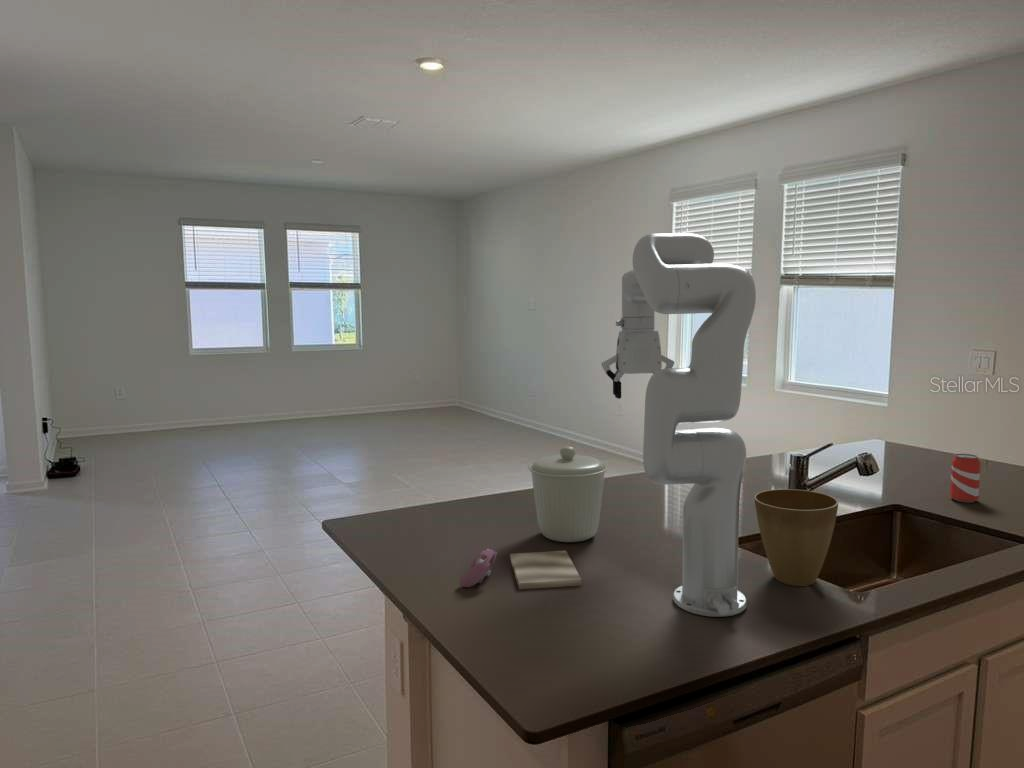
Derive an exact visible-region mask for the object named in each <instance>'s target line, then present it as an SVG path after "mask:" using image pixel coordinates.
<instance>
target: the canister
mask: <svg viewBox="0 0 1024 768" xmlns="http://www.w3.org/2000/svg"><path fill="white" fill-rule="evenodd" d="M528 470H529V471H530V473H531V480H532V487H533V496H534V504H535V511H536V517H537V524H538V527H539V528H538V529H539V530H540V532H541V534H542V535H543V537H545V538H546V539H548V540H551V541H555V542H559V543H560V542H561V543H578V542H579V543H580V542H584V541H587V540H590V539H591V538H593V537H594V536H595V534H597V531H598V529H599V523H600V517H601V508H602V499H603V492H604V483H605V473H606V472H607V470H608V465H607V464H606V463H604V462H603V461H601V460H599V459H598V458H596V457H592V456H590V455H582V454H576V449H575V448H574V447H573V446H568V445H567V446H566V445H565V446H563V447H561V449H560V450H559V454H554V455H548V456H543V457H541V458H537V459H536V460H535V461H533V462H532V463H530V464H528Z"/></svg>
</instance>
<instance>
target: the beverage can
mask: <svg viewBox="0 0 1024 768" xmlns="http://www.w3.org/2000/svg"><path fill="white" fill-rule="evenodd" d="M981 464H982V463H981V462H980V460H979V456H978V455H976V454H972V453H955V454H954V457H952V459H951V467H950V468H951V470H950V485H949V487H950V489H949V497H950V498H952V499H953V500H954V501H956V502H960V503H968V504H969V503H970V504H971V503H974V502H975V501H979V499H980V498H979V496H980V495H979V494H980V480H981V478H980V477H981Z"/></svg>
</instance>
